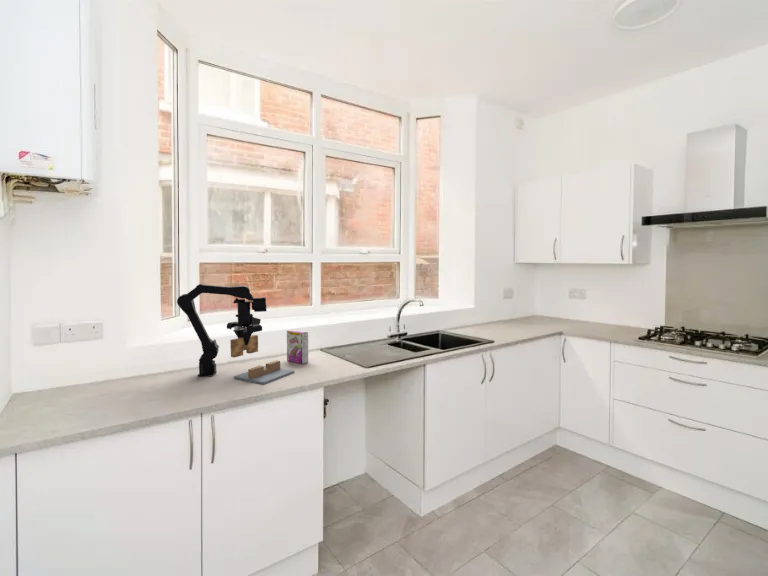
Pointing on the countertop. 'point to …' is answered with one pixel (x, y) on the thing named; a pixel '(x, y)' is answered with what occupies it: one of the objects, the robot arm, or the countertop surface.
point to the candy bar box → (297, 346)
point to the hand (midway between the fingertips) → (244, 344)
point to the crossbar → (243, 346)
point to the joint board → (265, 377)
